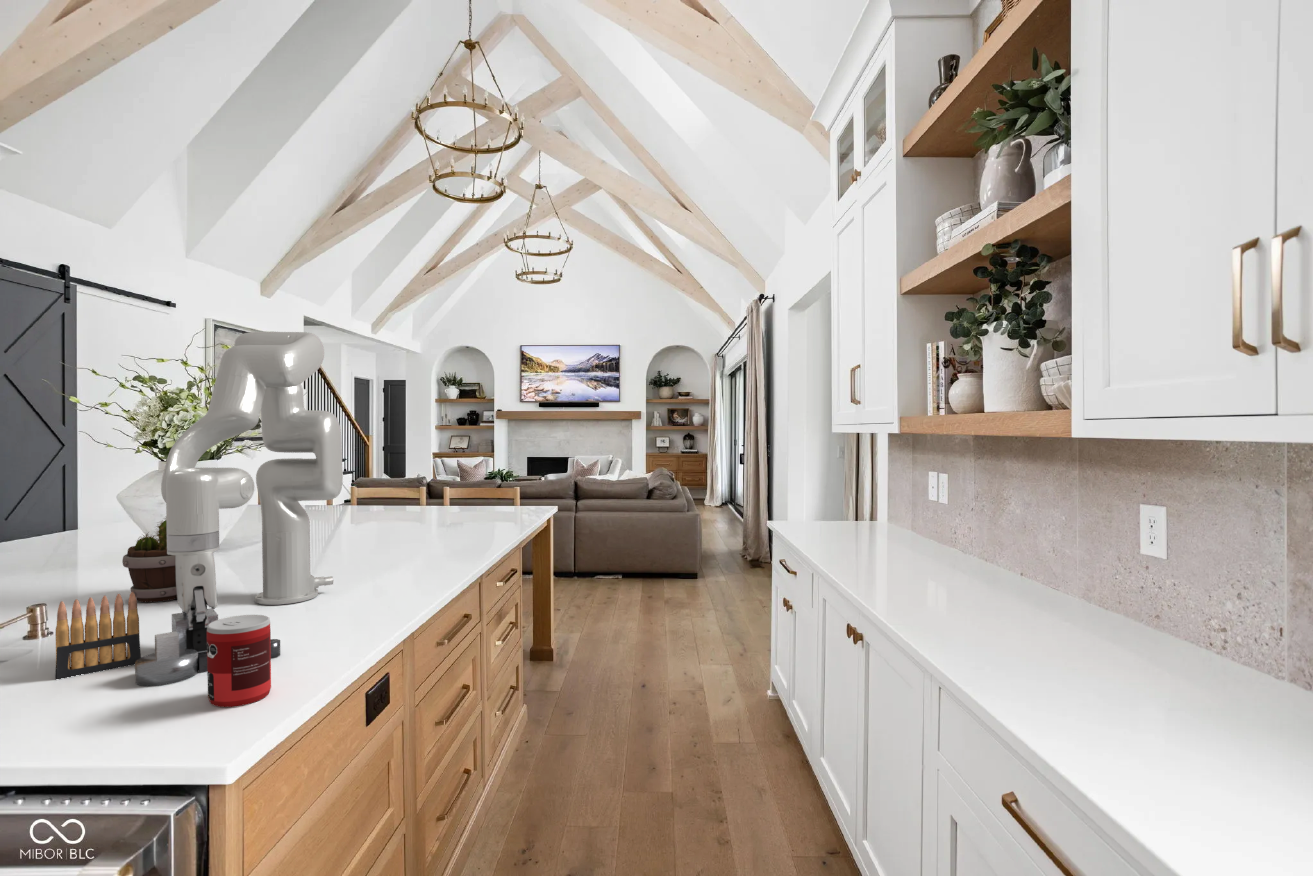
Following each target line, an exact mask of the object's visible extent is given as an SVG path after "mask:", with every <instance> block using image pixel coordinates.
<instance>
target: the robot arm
mask: <svg viewBox="0 0 1313 876" xmlns="http://www.w3.org/2000/svg"><path fill="white" fill-rule="evenodd" d="M324 358H325V348H324V344H323V342H322V340H321V338H320V337H319V336H317V335H316V334H315V333H312V332H306V331H304V332H303V331H251V332H245V333H242V334H240V335H238V336H237V337H236V338H235V341H234V346H231V347H230V348H228V349H226V350H225V351H224V352H223V354H222V356H221V359H220V362H219V366H218V371H217V373H216V379H215V381H214V386H213V389H212V393H211V397H210V402H209V406H208V410H207V412H206V414H204V415H203V416H202V417H201V418H199V419H198V420H196V422H194V423H193V424H191V425H190V426H189V428H187V429H186V430H185V431H184V432H183V433H182V434H181V435H180V436H179V437H178V438H177V440H176V441H174V443H173V445H172V447H171V448H170V450H169V453H168V455H167V458H166V462H165V466H164V470H163V474H162V477H161V478H162V479H161V484H160V487H161V488H160V492H161V496H162V499H163V501H164V502H165V506H166V507H165V511H166V513H165V514H166V516H165V518H166V519H165V520H166V521H167V554H168V555H175V565H176V590H177V599H176V600H177V604H178V606H179V608H180V610H181V613H183V612H185V613H187V616H188V629H187V630H186V643H187V649H192V650H196V651H197V652H201V651H207V625H208V612H207V609H208V607H209V608H212V609H214V610H215V609H216V608H217V607H218V595H217V593H218V592H217V579H216V578H217V576H216V573H217V572H216V563H215V557H214V556H215V555H214V552H216V551H219V550H220V509H221V510H222V509H226V510H227V509H236V508H240V507H242V506H244V505H246V504H247V503H248V502H249V501H250V500H251V498H252V497H253V495H254V492H255V483H256V488H257V492H258V498H259V503H260V504H259V505H260V511H261V552H262V553H261V554H262V592H260V593H258V594H256V595H255V596H254V602H255V603H257V604H259V605H264V606H265V605H267V606H269V605H270V606H273V605H274V606H277V605H287V604H288V605H289V604H295V603H302V602H305V601H309V600H312V599H315V598H316V597H317V596H319V590H318V589H319V587H321V586H324V587H325V586H331V585H334V576H316V577H315V576H314V575H312V574H311V532H310V531H311V529H310V528H311V524H310V523H311V522H310V518H309V517H310V516H309V515H308V513H307V511H306V510H305V508H304V507H303V505H302V504H301V503H300V502H302V501H303V502H308V501H312V502H313V501H331V500H334V499H335V498H338V496H339V495H340V493H341V491H342V488H343V483H344V481H343V477H344V475H343V474H344V473H343V472H344V471H343V446H342V429H341V426H340V425H341V424H340V422H339V420H338V418H337V416H336V415H335V414H334V413H333V412H330V411H326V410H319V409H318V410H310V409H309V410H306V409H305V403H304V402H305V401H304V389H303V386H302V383H304V382H305V381H306V380H308V379H309V378H310V377H311V376H312V375H314V374H315V373H316V372H318V370H319V369H320V367H321V366H322V364H323V361H324ZM260 419H261V434H262V436H261V437H262V441H263V445H264V447H265V448H266V449H267V450H269V451H270V452H274V453H284V454H285V453H292V454H294V453H297V454H298V453H299V454H301V453H306V454H308V453H310V454H311V453H313V454H314V455H315V458H302V457H301V458H295V457H294V458H293V457H292V458H276V459H271V460H267V461H265V462H264V463H262V464H261V465H260V466H259V467H258V468H257V471H256V474H255V482H254V479H253V476H252V475H251V474H250V473H249V472H248V471H246V470H244V469H242V468H238V467H196V465H197V463H198V461H199V459H200V458H201V457H202V456H203V455H204V454H205V453H206V452H207V451H208V450H210V449H211V448H213V447H214V446H215V445H218V444H220V443H222V442H225V441H227V440H229V439H231V438H234V437H236V436H239V435H242V434H244V433H246V432H248V431H250V430H252V429H254V428H255V427H256V426H257V425H258V423H259V421H260ZM192 615H195V616H193V618H192ZM192 621H193V622H192Z"/></svg>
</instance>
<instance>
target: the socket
mask: <svg viewBox="0 0 1313 876" xmlns="http://www.w3.org/2000/svg"><path fill="white" fill-rule="evenodd" d="M207 612H208V624H210V623H212V622H214V621H216V620H219V614H218V613H217V611H215V609H212V608H211V607H209V608H207ZM193 616H195V615H192V618H193ZM192 622H193V621H192ZM187 629H188V616H187V613H185V612H183V613H182V612H178V613H171V632H175V631H177V633H178V635H179V649H187V643H186V630H187ZM201 652H205V651H201ZM198 653H200V652H198Z"/></svg>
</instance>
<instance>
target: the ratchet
mask: <svg viewBox="0 0 1313 876" xmlns="http://www.w3.org/2000/svg"><path fill="white" fill-rule="evenodd" d="M280 656H281V640H280V639H277V638H272V639H271V660H272V659H275V658H278V657H280ZM134 671H135V672H134V675H135V677H134V678H135V679H134V682H135V684H136V685H138V686H141V687H159V686H166V685H172V684H176V683H179V682H183V681H186V680H188V679H190V678H193V677H195V676H196V675H197V674H198V673H199V674H201V673H207V651H205V652H200V653H198V652H197V651H196V650H192V649H179V635H178V633H177V631H175V632H172V631H171V632H164V633H158V634H155V635H154V653H150V654H147V655H144V656H141V658H140V659H138V660H136V662H135V665H134Z"/></svg>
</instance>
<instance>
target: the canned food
mask: <svg viewBox="0 0 1313 876" xmlns="http://www.w3.org/2000/svg"><path fill="white" fill-rule="evenodd" d="M271 632H272V631H271V620H270V617H269V616H267V615H262V614H241V615H233V616H228V617H227V616H226V617H224V618H221V619H219V618H218V620H216V621H214V622H212V623H210V624H208V625H207V671H206V673H207V698H208V701H209V703H210V705H212V706H214V707H218V708H235V707H240V706H241V707H242V706H246V705H250V704H254V703H256V702H260V701H261V700H263V699H264V698H265V699H266V697H267V696H269V694H270V692H271V689H272V662H271V661H272V659H271V638H272V637H271Z"/></svg>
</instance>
